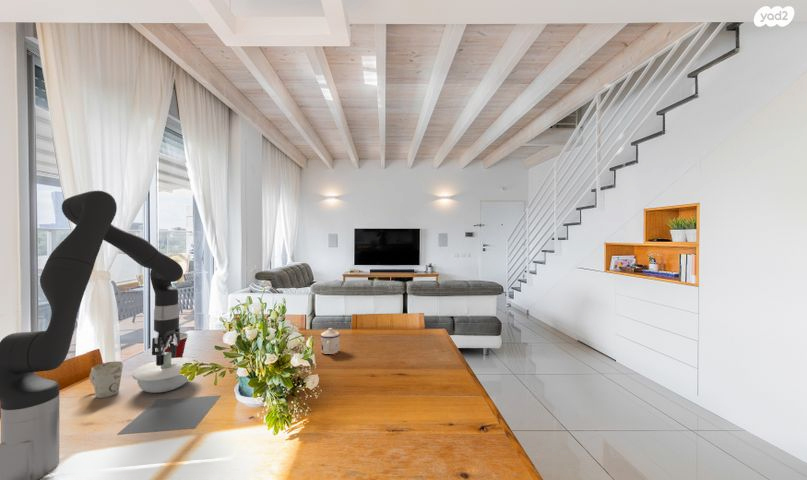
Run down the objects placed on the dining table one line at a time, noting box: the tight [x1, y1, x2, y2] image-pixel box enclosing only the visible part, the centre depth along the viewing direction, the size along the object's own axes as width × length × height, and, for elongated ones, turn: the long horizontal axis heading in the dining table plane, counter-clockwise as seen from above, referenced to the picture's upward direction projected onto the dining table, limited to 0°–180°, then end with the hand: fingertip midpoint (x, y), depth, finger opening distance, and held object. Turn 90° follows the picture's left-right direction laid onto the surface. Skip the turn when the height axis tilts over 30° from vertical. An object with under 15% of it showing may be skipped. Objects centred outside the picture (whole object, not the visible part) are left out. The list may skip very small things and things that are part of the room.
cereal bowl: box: [137, 375, 189, 394], centre depth 122 cm, size 17×17×7 cm
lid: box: [132, 352, 197, 381], centre depth 122 cm, size 19×19×6 cm
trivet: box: [116, 395, 221, 435], centre depth 105 cm, size 20×20×1 cm
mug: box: [88, 360, 124, 399], centre depth 118 cm, size 8×13×10 cm, turn 79°
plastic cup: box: [165, 331, 190, 358], centre depth 147 cm, size 11×11×12 cm
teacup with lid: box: [320, 327, 341, 354], centre depth 160 cm, size 12×9×12 cm
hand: (166, 360), depth 122 cm, fingers open, 8 cm apart
